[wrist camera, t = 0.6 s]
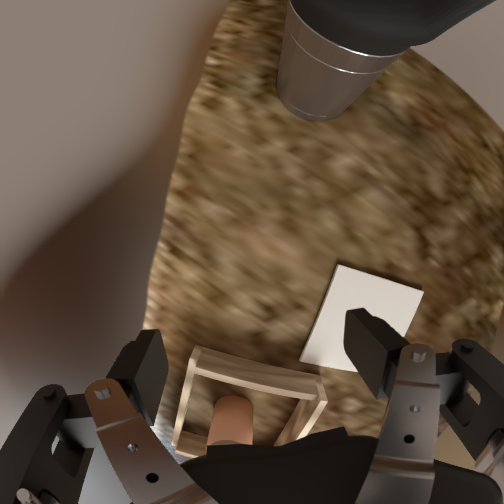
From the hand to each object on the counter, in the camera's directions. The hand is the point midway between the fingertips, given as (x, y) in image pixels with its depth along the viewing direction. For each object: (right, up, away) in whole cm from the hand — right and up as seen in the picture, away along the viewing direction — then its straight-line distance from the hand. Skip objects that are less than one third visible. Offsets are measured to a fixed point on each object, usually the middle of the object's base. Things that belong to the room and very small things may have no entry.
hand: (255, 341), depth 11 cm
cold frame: (-2, -21, +26) cm, 34 cm away
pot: (-3, -20, +26) cm, 33 cm away
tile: (+15, -6, +23) cm, 28 cm away
